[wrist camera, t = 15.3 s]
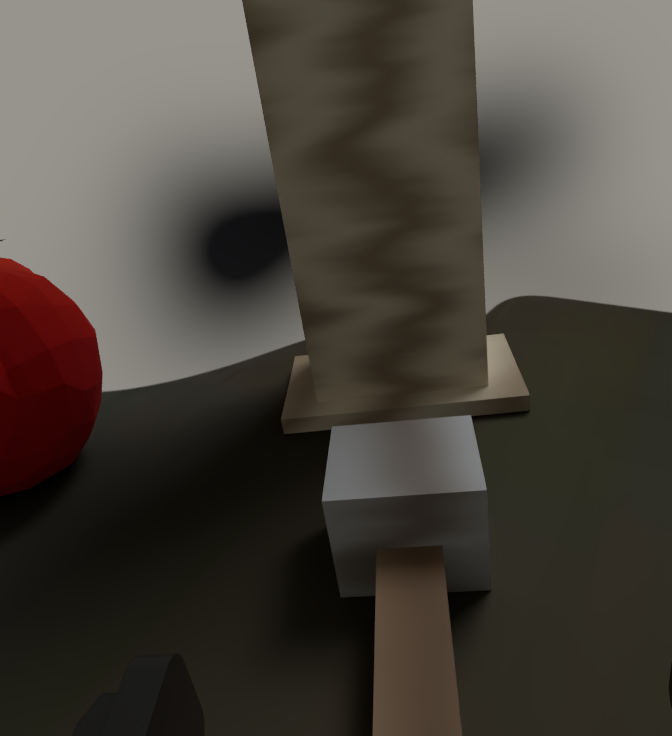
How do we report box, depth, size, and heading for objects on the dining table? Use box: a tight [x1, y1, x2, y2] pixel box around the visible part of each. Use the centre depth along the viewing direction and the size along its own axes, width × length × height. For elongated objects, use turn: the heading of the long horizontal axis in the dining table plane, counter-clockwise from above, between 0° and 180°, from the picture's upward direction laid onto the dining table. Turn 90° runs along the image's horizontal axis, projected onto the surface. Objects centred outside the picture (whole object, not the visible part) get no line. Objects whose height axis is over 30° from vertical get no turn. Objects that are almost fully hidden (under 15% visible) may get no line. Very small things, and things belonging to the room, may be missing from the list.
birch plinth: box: [242, 0, 530, 434], centre depth 33 cm, size 14×8×32 cm, turn 87°
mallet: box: [322, 415, 491, 736], centre depth 21 cm, size 6×19×5 cm, turn 176°
